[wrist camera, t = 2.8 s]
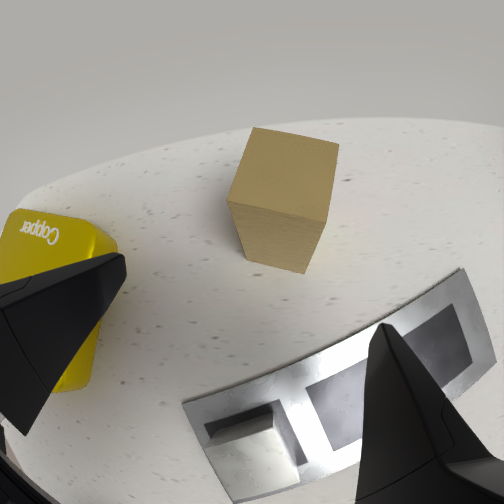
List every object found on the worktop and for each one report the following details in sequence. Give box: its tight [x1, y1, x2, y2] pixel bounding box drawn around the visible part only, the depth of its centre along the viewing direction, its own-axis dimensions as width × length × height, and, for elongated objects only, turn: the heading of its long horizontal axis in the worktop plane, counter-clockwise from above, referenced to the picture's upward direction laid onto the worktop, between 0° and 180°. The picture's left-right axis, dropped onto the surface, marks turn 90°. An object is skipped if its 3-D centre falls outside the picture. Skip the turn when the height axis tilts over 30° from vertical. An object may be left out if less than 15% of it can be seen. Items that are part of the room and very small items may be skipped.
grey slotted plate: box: [182, 268, 497, 504], centre depth 18 cm, size 26×10×1 cm, turn 113°
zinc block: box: [204, 411, 300, 501], centre depth 15 cm, size 4×4×4 cm
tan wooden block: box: [227, 127, 339, 274], centre depth 18 cm, size 4×4×10 cm
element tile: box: [0, 208, 118, 393], centre depth 21 cm, size 15×15×5 cm
